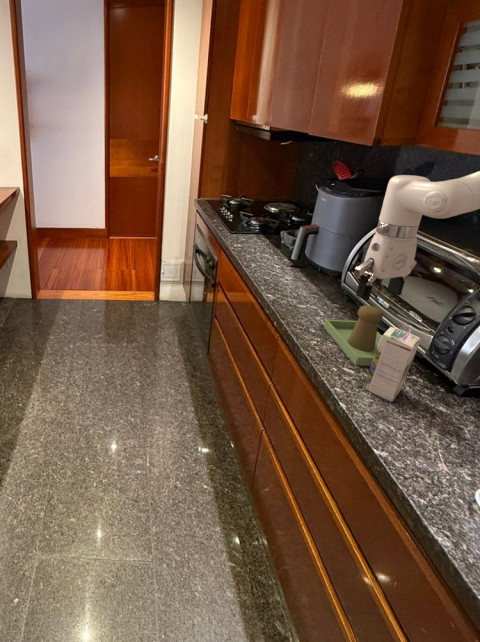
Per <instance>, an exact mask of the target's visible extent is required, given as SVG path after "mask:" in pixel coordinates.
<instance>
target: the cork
mask: <svg viewBox="0 0 480 642" xmlns="http://www.w3.org/2000/svg"><path fill="white" fill-rule="evenodd" d="M357 316H358V319H357V320H356V321H357V323H356V325H355V327H354V329H353V331H352V333H351V335H350V337H349V339H348V343H349V345H351V346H352V347H354V348H356V349H358V350H361V351H368V352H369V351H373V350H374V349H375V342H376V335H377V332H378V328H379V327H378V325H379V323H380V322H381V321H382V320H383V317H384V314H383V311H382V310H381V309H380V308H378V307H376V306H374V305H369V304H367V305H362V306H360V307H359V309H358V311H357Z"/></svg>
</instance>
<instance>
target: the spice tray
mask: <svg viewBox="0 0 480 642" xmlns="http://www.w3.org/2000/svg"><path fill="white" fill-rule="evenodd" d="M357 321H358V320H345V319H343V320H342V319H325V320H324V324H323V328H324V329H325V331H326V332H327V333H328V334H329V335H330V336H331V338H333V340H334V341H335V343H336V344H337V345H338V346H339V347H340V348H341V350H342V351H343V352H344V353H345V354H346V356H347V357H348V358H349V360H350V361H351V363H353V364H354V366H364V367H367V366H368V367H371V364H372V361H373V359H374V356H375V353H376V350H377V347H378V345H379V342H380V339H381V336H383V334H381V333H380V332H379V331H377V335H376V342H375V349H374V350H373V351H369V352H368V351H361V350H358V349H356V348H354V347H352V346H351V345H349V343H348V339H349V337H350V335H351V333H352V331H353V329H354V327H355V325H356V323H357Z"/></svg>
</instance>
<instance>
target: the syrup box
mask: <svg viewBox="0 0 480 642" xmlns="http://www.w3.org/2000/svg"><path fill="white" fill-rule="evenodd" d="M421 340H422V338H421V337H419V336H417V335H415V334H413V333H411V332H408V331H405V330H403V329H401V328H396V327H392V326H390V327H389V328H388V329H387V330H386V331H385V332H384V333H383V334H382V336H381V339H380V342H379V345H378V347H377V350H376V353H375V356H374V359H373V361H372V364H371V366H369V370H368V373H367V376H366V378H365V381H364V385H363V388H362V389H364V390H366V391H368V392H370V393H372V394H374V395H375V396H378V397H380V398H382V399H384V400H387V401H390V403H391V402H392V403H393V402H394V401H395V399H397V396H398V395H399V393H400V392H401V390H402V388H403V386H404V383H405V380H406V378H407V376H408V373H409V370H410V368H411V366H412V363H413V360H414V358H415V356H416V353H417V350H418V347H419V346H420V343H421Z"/></svg>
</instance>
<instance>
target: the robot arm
mask: <svg viewBox="0 0 480 642" xmlns="http://www.w3.org/2000/svg"><path fill="white" fill-rule="evenodd" d="M477 210H480V170H479V171H476V172H474V173H473V172H472V173H470V174H467V175H464V176H462V177H458V178H453V179H447V180H442V181H431V179H429V178H428V177H425V176H421V175H410V174H400V175H399V174H398V175H394V176H392V177H391V178H390V179H389V181H388V183H387V187H386V191H385V195H384V198H383V203H382V206H381V210H380V214H379V217H378V221H377V225H376V230H375V233H374V234H373V237H372V238H371V240H370V243H369V246H368V249H367V250H366V254H365V257H364V261H363V262H362V263H361V264H359V265H357V266H356V267H355V268H354V272H355V278H356V279H357V282H358V285H357V288H356V293H355V296H356V297H358V298H360V299H361V300H364V301H369V300H370V299H371V294H372V290H373V287H374V286H373V285H372V284H373V283H374V282H375V281H376V279H378V280H389V281H388V285H387V288H386V290H387V292H389V293H391V294H394V295H396V296H401V295H402V293H403V289H404V285H405V282H406V281H407V280H408V279H409V276H410V274H411V273H413V269H414V268H415V267H416V265H417V264H418V261H417V260H415V258H416V252H417V247H418V236H417V233H418V230H419V227H420V223H421V220H422V217H423V216H425V217H428V218H433V219H448V218H451V217H455V216H459V215H462V214H466V213H471V212H474V211H477ZM368 276H370V277H369V278H367V277H368Z"/></svg>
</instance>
